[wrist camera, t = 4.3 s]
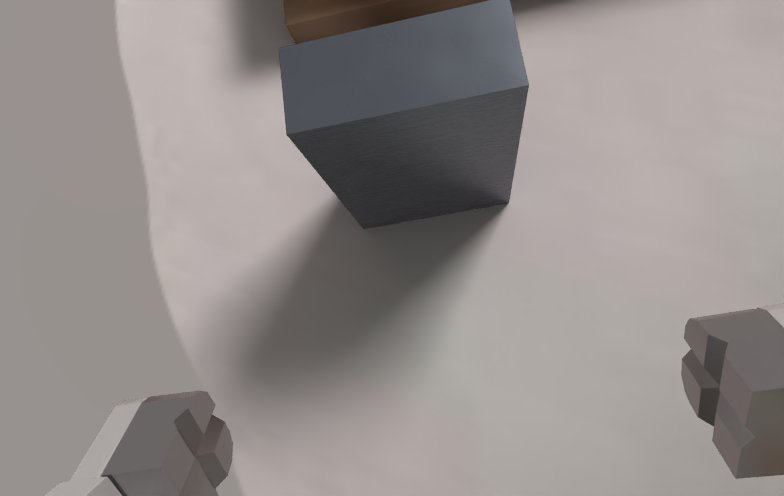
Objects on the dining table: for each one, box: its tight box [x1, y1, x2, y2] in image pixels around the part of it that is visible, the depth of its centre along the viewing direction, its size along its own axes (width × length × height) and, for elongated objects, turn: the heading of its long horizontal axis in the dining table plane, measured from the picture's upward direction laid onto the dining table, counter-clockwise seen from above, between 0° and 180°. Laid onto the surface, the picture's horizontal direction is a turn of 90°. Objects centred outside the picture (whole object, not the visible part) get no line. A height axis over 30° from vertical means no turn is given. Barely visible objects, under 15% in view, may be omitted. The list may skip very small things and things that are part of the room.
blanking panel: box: [279, 0, 529, 229], centre depth 17 cm, size 6×2×9 cm, turn 98°
